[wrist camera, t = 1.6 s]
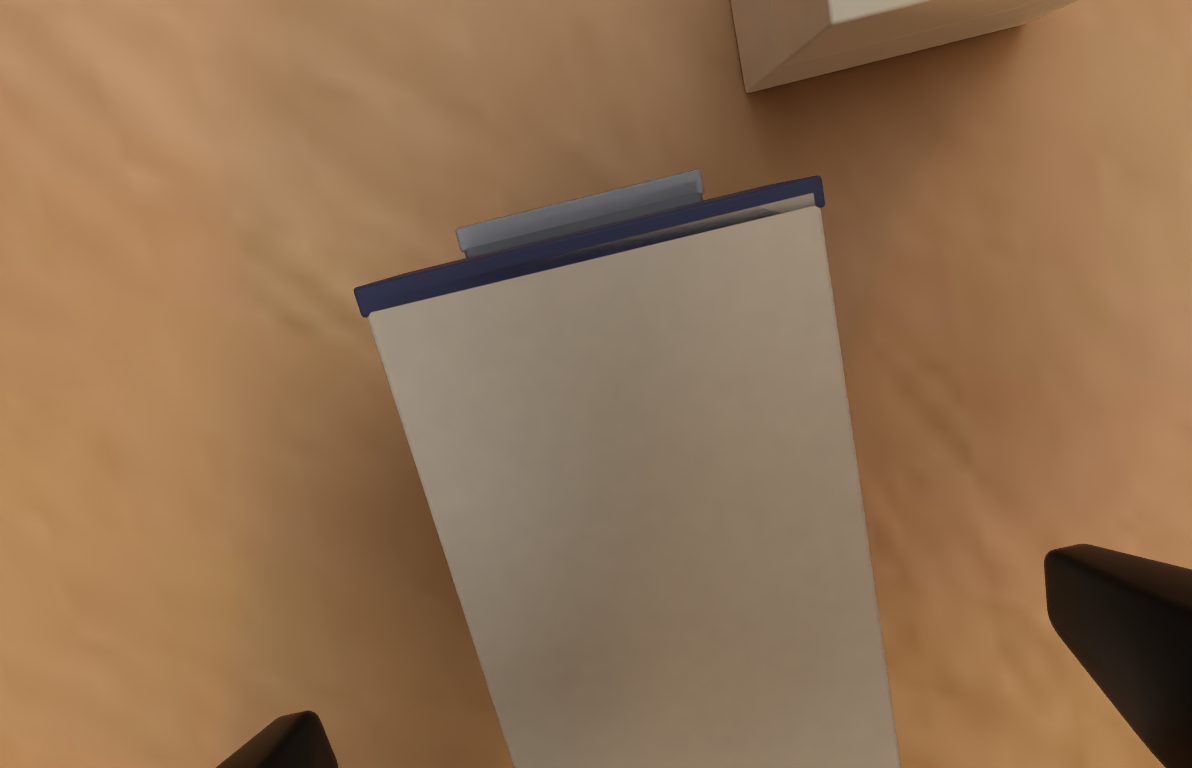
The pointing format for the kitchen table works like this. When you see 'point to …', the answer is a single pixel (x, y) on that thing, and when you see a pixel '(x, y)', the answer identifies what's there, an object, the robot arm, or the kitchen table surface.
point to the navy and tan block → (859, 31)
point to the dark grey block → (581, 213)
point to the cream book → (651, 487)
